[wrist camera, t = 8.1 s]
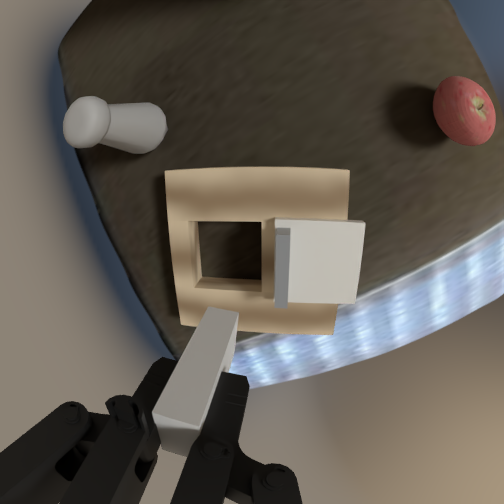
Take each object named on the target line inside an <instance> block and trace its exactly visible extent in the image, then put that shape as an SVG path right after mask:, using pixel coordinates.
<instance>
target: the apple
mask: <svg viewBox="0 0 504 504" xmlns="http://www.w3.org/2000/svg"><path fill="white" fill-rule="evenodd" d="M433 112H434V117H435V119H436V121H437V124H438V126H439V127H440V128H441V130H442V131H443V132H444V133H445V134H446V135H447V136H448V137H449V138H451V139H452V140H453V141H455V142H457V143H459V144H462V145H468V146H475V145H479V144H483V143H484V142H486V141H487V140H488V139H489V138H490V137H491V135H492V133H493V131H494V127H495V110H494V107H493V104H492V102H491V100H490V98H489V96H488V95H487V93H486V92H485V91H484V89H483V88H482V87H481V86H480V85H478V84H477V83H476V82H474V81H472V80H470V79H468V78H464V77H461V76H452V77H448V78H446V79H445V80H443V81H442V82H441V83H440V85H439V86H438V88H437V89H436V92H435V94H434V99H433Z"/></svg>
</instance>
